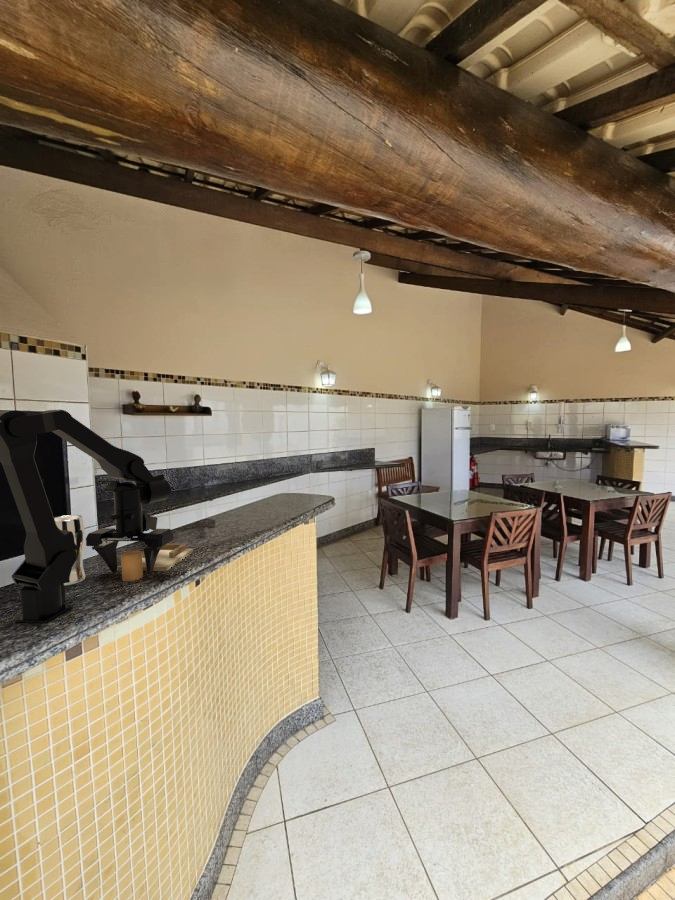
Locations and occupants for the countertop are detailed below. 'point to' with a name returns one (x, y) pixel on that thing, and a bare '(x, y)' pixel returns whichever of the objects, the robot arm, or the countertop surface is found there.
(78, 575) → the silver tall piece
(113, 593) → the countertop surface
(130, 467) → the robot arm
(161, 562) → the hook board
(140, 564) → the orange rounded capsule
